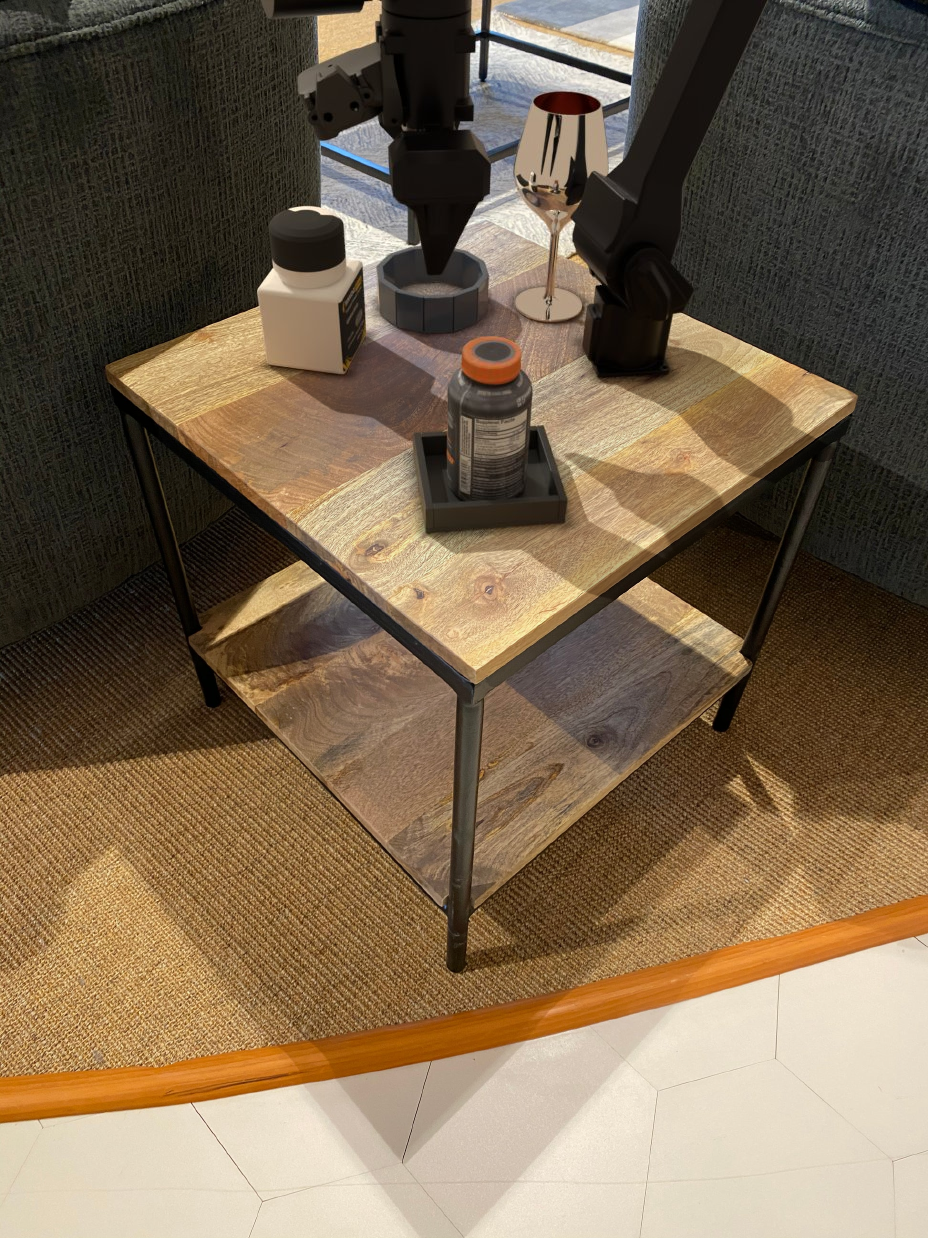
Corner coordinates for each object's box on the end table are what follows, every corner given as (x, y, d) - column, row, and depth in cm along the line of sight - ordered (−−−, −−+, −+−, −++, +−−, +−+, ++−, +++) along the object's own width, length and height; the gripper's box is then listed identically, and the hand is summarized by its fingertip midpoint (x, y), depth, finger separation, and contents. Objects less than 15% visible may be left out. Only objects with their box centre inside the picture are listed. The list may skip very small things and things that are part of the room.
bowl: (478, 277, 97) (479, 243, 95) (493, 330, 90) (495, 294, 88) (375, 281, 96) (373, 247, 94) (382, 335, 89) (381, 299, 87)
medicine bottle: (345, 376, 85) (335, 240, 76) (266, 365, 85) (247, 230, 77) (367, 334, 89) (360, 202, 81) (292, 324, 90) (277, 193, 82)
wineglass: (487, 303, 94) (496, 100, 81) (545, 276, 98) (562, 79, 85) (551, 336, 90) (571, 128, 77) (608, 306, 94) (637, 104, 81)
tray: (541, 448, 78) (543, 424, 76) (565, 523, 72) (568, 499, 70) (413, 455, 77) (412, 432, 75) (425, 533, 71) (425, 509, 69)
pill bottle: (461, 452, 77) (464, 319, 68) (534, 468, 75) (546, 334, 67) (435, 498, 73) (435, 363, 65) (513, 515, 71) (523, 380, 63)
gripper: (296, -32, 68) (315, 196, 79) (300, 55, 55) (322, 312, 66) (456, -33, 69) (452, 191, 80) (497, 52, 56) (486, 305, 67)
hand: (427, 245), depth 74 cm, fingers open, 9 cm apart
